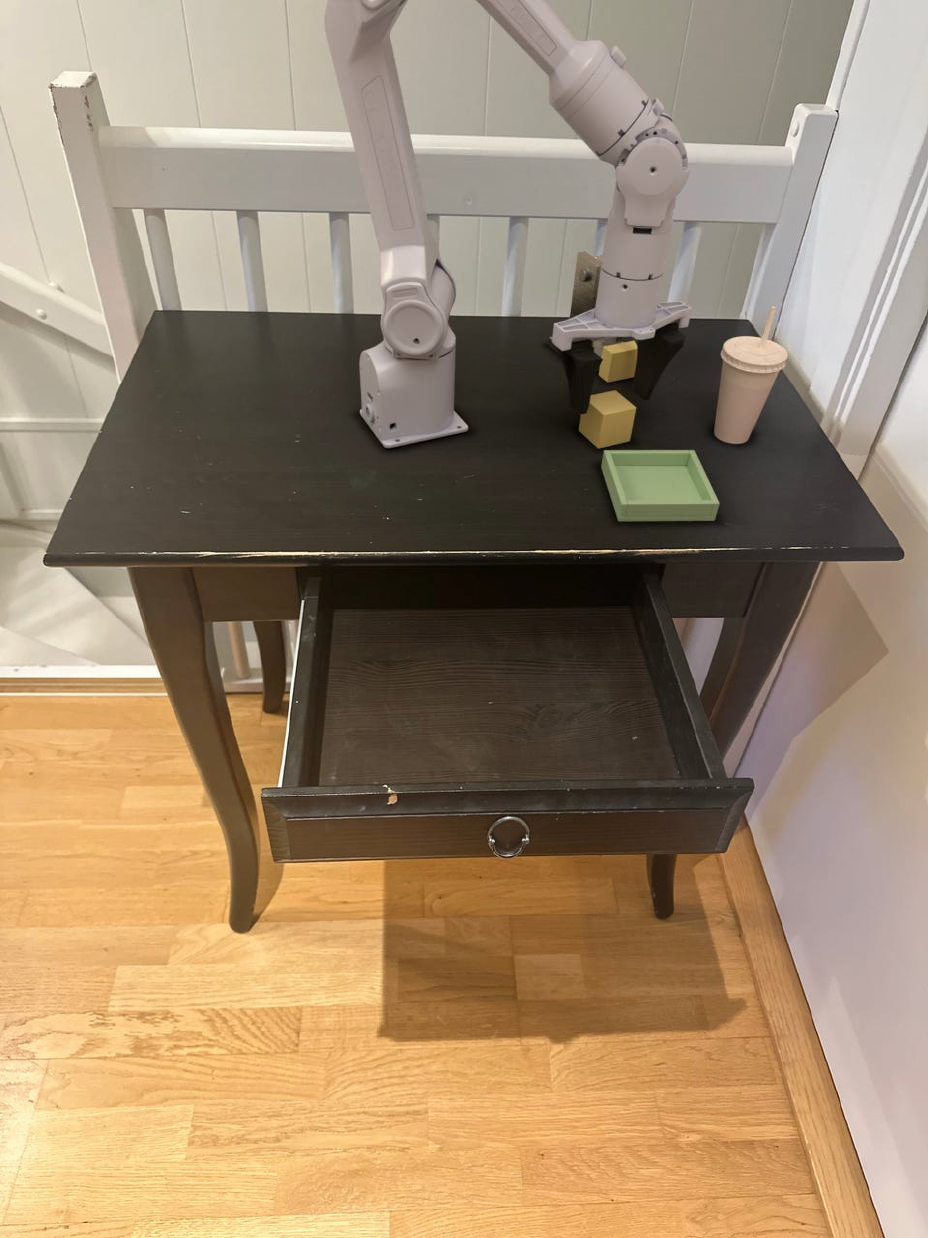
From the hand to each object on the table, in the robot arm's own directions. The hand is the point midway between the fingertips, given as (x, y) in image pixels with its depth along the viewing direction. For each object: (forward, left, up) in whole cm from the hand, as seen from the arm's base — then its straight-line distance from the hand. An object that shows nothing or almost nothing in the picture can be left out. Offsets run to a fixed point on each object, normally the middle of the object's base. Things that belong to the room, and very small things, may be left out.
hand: (610, 402), depth 86 cm
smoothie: (+13, -5, -4) cm, 14 cm away
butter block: (+9, +11, -4) cm, 15 cm away
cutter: (+9, +17, -4) cm, 20 cm away
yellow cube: (0, 0, -4) cm, 4 cm away
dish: (-1, -11, -4) cm, 12 cm away
